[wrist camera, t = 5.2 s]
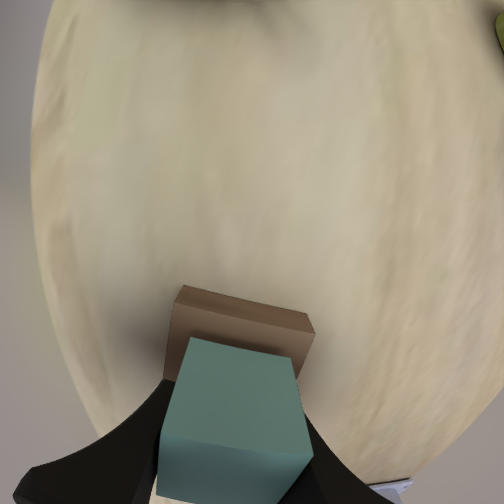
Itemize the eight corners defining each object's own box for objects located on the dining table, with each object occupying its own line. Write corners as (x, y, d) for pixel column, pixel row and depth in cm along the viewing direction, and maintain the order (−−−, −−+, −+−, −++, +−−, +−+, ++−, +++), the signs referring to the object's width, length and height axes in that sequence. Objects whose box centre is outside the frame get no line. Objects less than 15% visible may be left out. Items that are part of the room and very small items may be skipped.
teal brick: (263, 423, 12) (269, 512, 7) (177, 406, 12) (155, 495, 7) (290, 357, 11) (313, 455, 6) (190, 336, 11) (160, 432, 6)
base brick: (271, 402, 15) (274, 427, 13) (167, 381, 15) (159, 404, 13) (306, 313, 14) (315, 333, 12) (183, 285, 13) (174, 302, 12)
